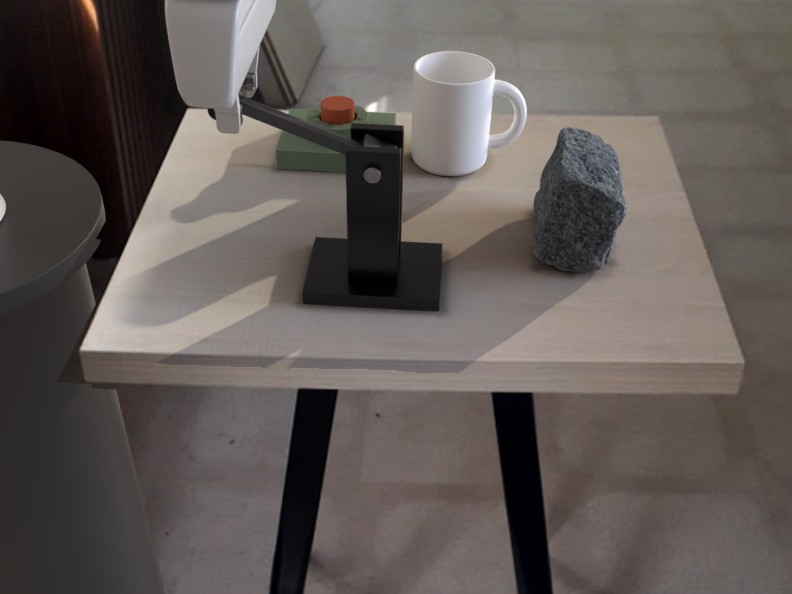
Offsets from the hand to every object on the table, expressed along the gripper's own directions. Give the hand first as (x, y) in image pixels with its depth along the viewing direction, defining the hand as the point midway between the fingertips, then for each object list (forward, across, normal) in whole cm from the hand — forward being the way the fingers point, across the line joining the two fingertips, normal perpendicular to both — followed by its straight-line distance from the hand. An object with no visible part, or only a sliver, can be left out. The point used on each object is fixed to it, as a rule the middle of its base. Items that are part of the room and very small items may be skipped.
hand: (238, 111), depth 77 cm
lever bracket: (+15, 0, +12) cm, 19 cm away
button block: (+15, -24, +6) cm, 29 cm away
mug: (+15, -23, +20) cm, 34 cm away
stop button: (+12, -24, +5) cm, 27 cm away
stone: (+15, -8, +30) cm, 34 cm away
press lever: (+2, 0, +5) cm, 5 cm away
